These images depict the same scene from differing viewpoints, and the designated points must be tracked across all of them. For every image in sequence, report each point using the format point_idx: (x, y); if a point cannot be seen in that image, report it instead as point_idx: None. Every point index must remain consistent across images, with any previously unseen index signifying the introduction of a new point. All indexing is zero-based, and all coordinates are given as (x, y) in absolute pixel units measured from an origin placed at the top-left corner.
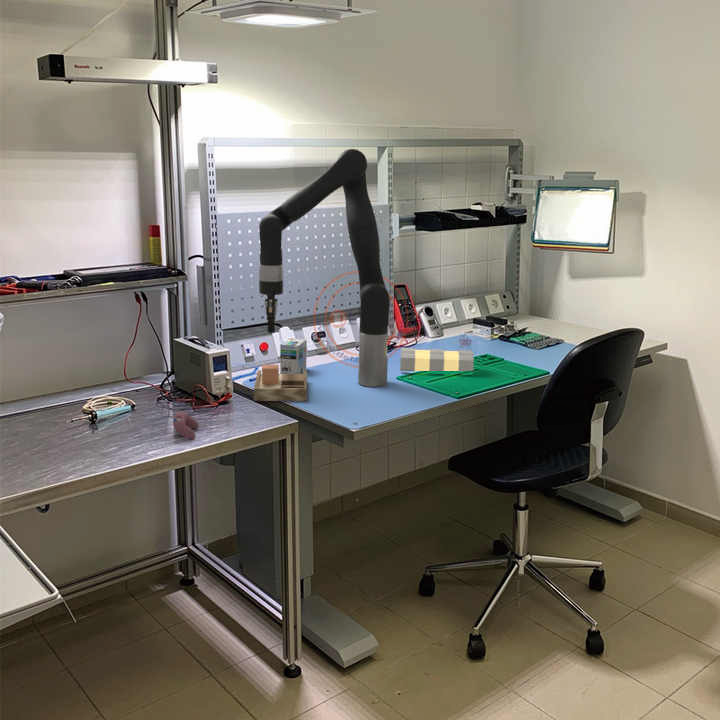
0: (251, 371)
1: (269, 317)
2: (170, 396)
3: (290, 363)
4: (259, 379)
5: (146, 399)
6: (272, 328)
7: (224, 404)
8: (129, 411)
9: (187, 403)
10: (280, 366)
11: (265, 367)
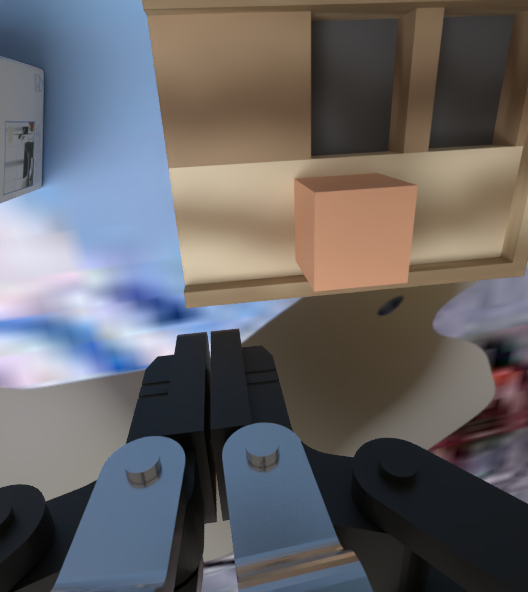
0: (11, 340)
1: (427, 570)
2: None
3: (9, 125)
4: None
5: None
6: (274, 377)
7: (510, 350)
8: None
9: (477, 449)
10: (20, 195)
11: (386, 266)
